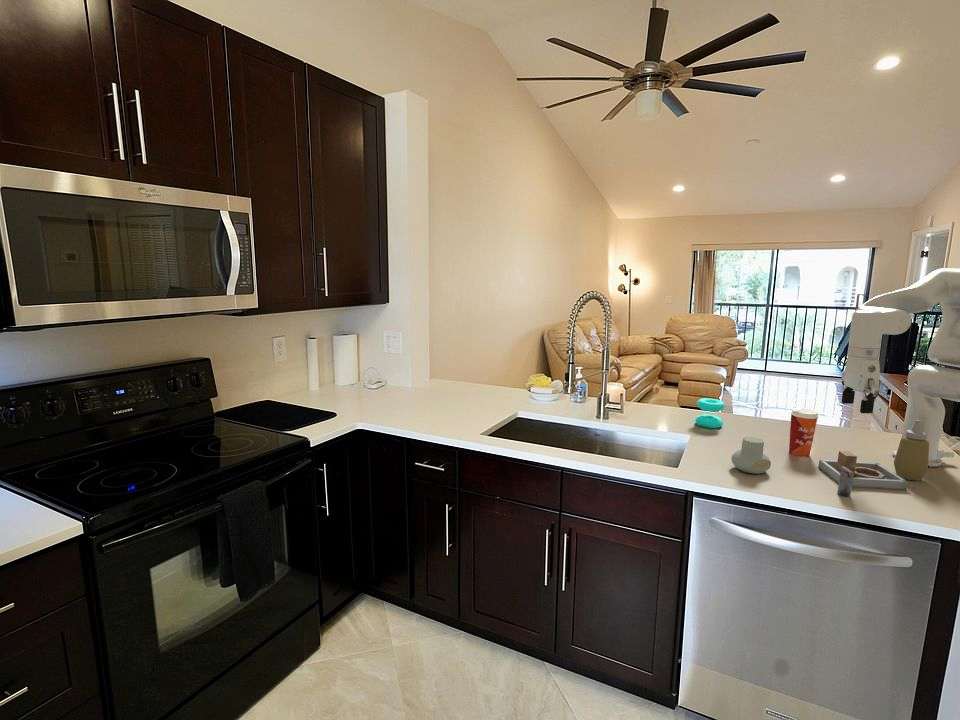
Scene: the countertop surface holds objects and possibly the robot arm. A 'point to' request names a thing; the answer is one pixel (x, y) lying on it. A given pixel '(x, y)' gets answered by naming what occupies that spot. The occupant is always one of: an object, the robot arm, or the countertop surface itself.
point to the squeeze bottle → (912, 454)
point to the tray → (888, 483)
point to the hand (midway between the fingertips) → (856, 408)
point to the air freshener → (751, 456)
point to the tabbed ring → (849, 462)
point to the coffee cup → (802, 431)
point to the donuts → (712, 406)
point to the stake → (845, 482)
